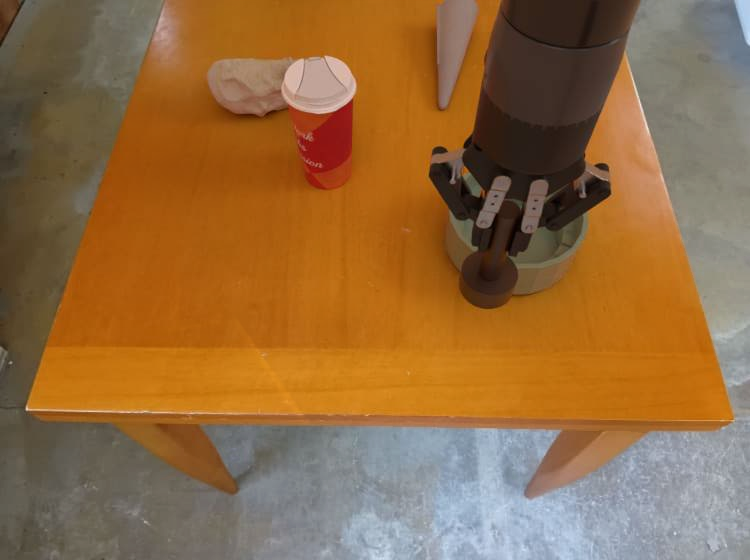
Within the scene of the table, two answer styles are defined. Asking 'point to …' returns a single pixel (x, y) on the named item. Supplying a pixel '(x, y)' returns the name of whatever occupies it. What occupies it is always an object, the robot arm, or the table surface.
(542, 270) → the bowl
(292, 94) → the coffee cup
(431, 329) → the table surface
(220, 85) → the pale crumpled lump
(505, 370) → the table surface
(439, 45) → the long tapered cone
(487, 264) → the brown capped cylinder
